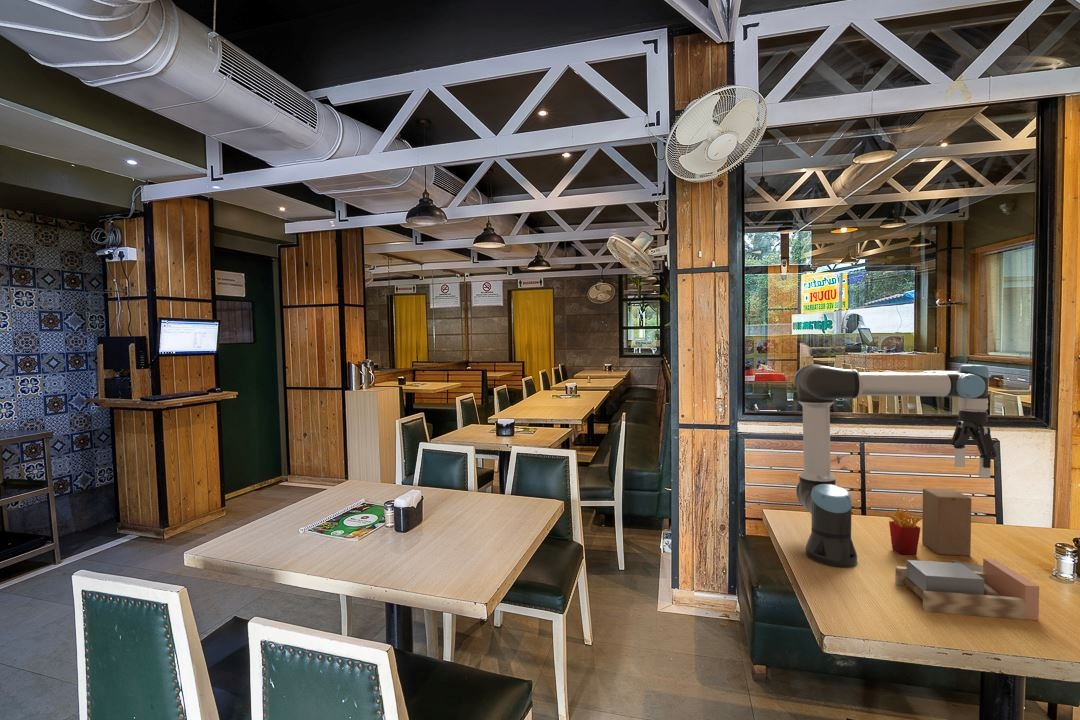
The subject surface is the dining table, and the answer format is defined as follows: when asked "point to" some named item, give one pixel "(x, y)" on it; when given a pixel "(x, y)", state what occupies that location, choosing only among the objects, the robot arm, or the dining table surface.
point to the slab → (944, 577)
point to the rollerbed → (966, 600)
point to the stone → (970, 565)
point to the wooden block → (946, 522)
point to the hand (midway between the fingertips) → (971, 471)
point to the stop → (1012, 586)
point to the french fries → (904, 532)
